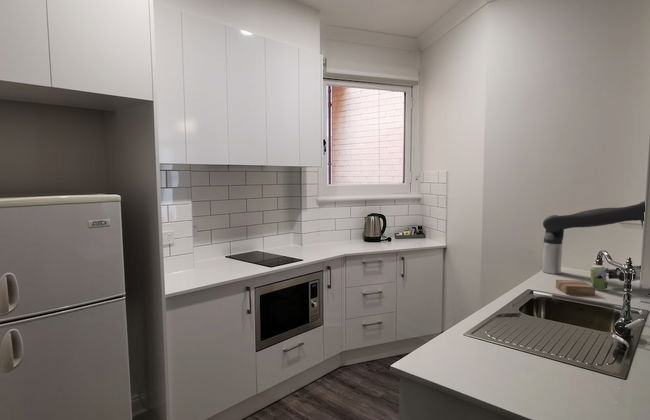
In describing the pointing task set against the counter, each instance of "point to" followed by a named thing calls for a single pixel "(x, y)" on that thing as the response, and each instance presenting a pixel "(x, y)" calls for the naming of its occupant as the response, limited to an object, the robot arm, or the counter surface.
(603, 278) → the beverage can
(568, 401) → the counter surface
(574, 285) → the walnut base
